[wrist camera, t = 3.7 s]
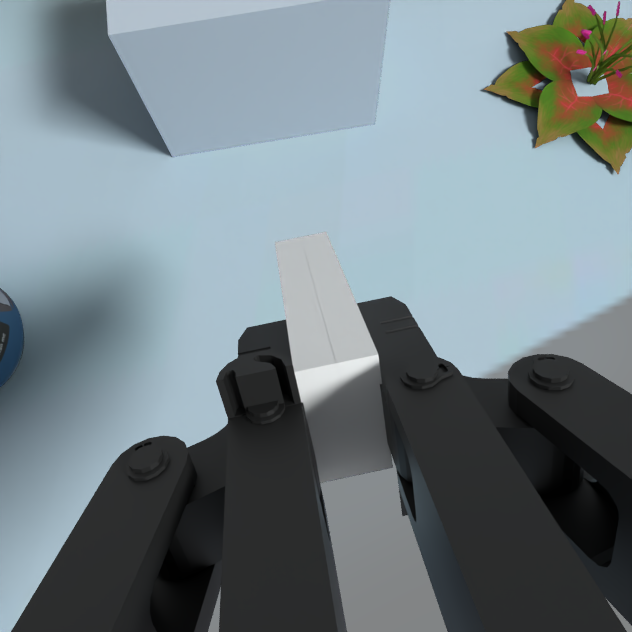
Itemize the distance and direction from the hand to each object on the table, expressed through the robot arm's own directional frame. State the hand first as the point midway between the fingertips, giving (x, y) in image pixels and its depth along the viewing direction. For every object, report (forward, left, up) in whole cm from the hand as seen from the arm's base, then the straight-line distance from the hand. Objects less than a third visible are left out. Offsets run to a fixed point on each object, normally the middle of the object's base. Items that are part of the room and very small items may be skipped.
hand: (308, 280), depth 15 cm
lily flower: (-19, -13, -12) cm, 26 cm away
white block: (0, -17, -12) cm, 21 cm away
